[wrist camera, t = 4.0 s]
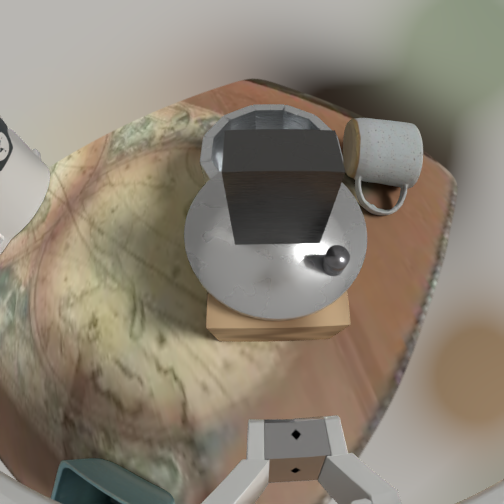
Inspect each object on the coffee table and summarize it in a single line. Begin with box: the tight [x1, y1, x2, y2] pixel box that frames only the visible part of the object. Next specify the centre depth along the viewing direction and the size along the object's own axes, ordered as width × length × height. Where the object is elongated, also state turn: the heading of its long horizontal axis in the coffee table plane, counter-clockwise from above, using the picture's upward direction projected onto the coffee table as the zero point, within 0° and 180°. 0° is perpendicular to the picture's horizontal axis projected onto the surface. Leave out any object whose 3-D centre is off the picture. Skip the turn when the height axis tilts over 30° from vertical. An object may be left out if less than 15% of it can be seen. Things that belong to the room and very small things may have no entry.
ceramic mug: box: [343, 118, 423, 215], centre depth 30 cm, size 11×8×8 cm
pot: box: [200, 105, 344, 184], centre depth 30 cm, size 13×13×7 cm
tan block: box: [206, 290, 350, 341], centre depth 25 cm, size 10×9×7 cm
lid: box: [184, 129, 367, 321], centre depth 19 cm, size 14×14×9 cm
